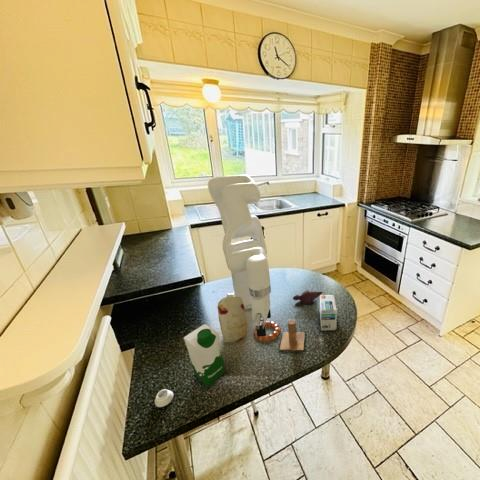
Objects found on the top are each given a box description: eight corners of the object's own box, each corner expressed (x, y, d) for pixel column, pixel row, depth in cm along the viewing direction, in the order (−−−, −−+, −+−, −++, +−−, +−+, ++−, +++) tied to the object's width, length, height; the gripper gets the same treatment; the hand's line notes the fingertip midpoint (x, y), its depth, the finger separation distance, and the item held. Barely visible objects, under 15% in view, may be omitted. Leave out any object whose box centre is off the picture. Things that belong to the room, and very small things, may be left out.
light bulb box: (336, 330, 107) (337, 310, 103) (320, 331, 107) (321, 310, 102) (333, 313, 117) (334, 294, 112) (319, 313, 117) (319, 294, 112)
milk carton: (207, 391, 83) (195, 346, 74) (191, 376, 87) (178, 332, 79) (229, 371, 89) (221, 328, 81) (214, 359, 94) (204, 316, 86)
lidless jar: (154, 397, 81) (155, 411, 77) (152, 391, 79) (153, 404, 76) (172, 389, 83) (174, 402, 79) (170, 383, 82) (172, 395, 78)
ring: (251, 343, 101) (251, 338, 100) (257, 324, 110) (257, 320, 109) (278, 343, 101) (277, 338, 100) (281, 324, 110) (281, 320, 109)
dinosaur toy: (318, 283, 128) (290, 293, 122) (324, 288, 121) (294, 298, 116) (320, 296, 129) (292, 306, 124) (326, 301, 122) (297, 312, 117)
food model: (224, 349, 98) (216, 307, 90) (222, 337, 104) (214, 297, 95) (250, 340, 102) (244, 300, 94) (246, 329, 108) (241, 290, 99)
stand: (279, 352, 97) (278, 330, 92) (283, 334, 105) (281, 313, 101) (303, 352, 97) (303, 330, 92) (305, 334, 105) (304, 313, 101)
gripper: (255, 276, 99) (259, 311, 106) (242, 304, 83) (248, 343, 90) (274, 276, 99) (277, 311, 106) (265, 304, 83) (270, 343, 90)
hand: (264, 326), depth 98 cm, fingers open, 9 cm apart
